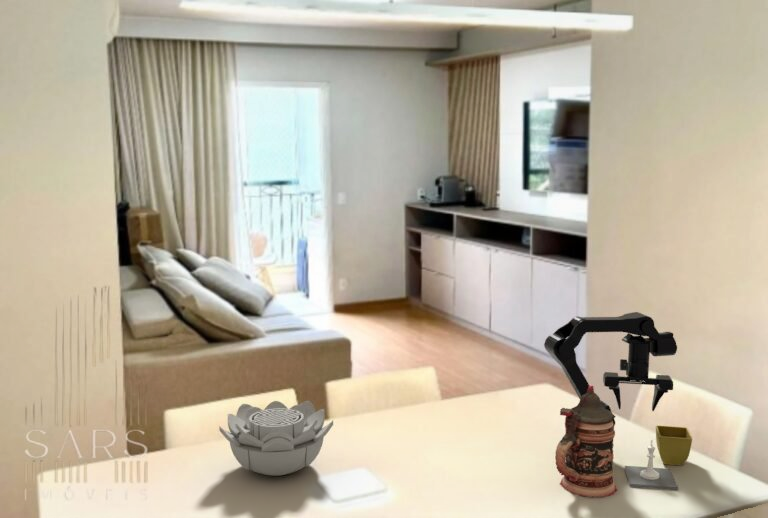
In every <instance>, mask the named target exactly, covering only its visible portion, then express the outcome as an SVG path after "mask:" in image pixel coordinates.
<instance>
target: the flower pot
mask: <svg viewBox="0 0 768 518" xmlns="http://www.w3.org/2000/svg"><path fill="white" fill-rule="evenodd" d="M655 440H656V441H655V443H656V447H657V450H658V453H659V456H660V459H661V462H662V464H663V465H670V466H683V465H685V463H686V462H687V460H688V458H689V456H690V453H691V452H690V451H691V449H692V443H693V436H692V434H691V432H690V430H689V428H688V427H684V426H671V425H670V426H669V425H655Z"/></svg>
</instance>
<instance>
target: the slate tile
mask: <svg viewBox="0 0 768 518" xmlns="http://www.w3.org/2000/svg"><path fill="white" fill-rule="evenodd" d="M646 468H647V466H637V465H635V466H634V465H624V472H625V475H626V478H627V483H628V487H630V488H645V489H657V490H670V491H671V490H673V491H678V490H679V487H678V484H677V482H676V480H675V477H674V474H673V472H672V470H671V468H663V467H653V469H654V470H655V471H656V472H658V473H659V478H658V479H654V480H651V479H646V478H643V477H642V476H641V475H640V473H641V471H642V470H646Z"/></svg>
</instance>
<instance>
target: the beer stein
mask: <svg viewBox="0 0 768 518" xmlns="http://www.w3.org/2000/svg"><path fill="white" fill-rule="evenodd" d="M594 386H595V385H589V388H588V390H587V393H586V394H584V395H582V396H581V399H579V402H578V404H577V405H576V406H575V405H574V406H573V407H572V408H565V407H562V408H561V409H560V411H559V415H560V416H564V417H565V418H564V419H565V420H564V427H565V434H564V435H563V436H562V438H561V440H559V441H558V443H557V445H556V449H555V452H554V453H555V458H554V459H555V465H556V469H557V472H559V474H560V476H563V477H562V478H561V481H560V482H559V485H560V486H561V487H562V488H563V489H564V490H566V491H567V492H570V493H572V494H574V495H578V496H582V497H584V498H585V497H587V498H593V499H594V498H602V497H609V496H612V495H614V494H615V493H616V492H617V491H618V488H617V487H616V484H615V482H614V474H615V470H614V467H613V466H614V464H613V463H614V444H615V443H614V438H615V436H616V430H615V425H614V426H613V419H614V420H615V417H614V416H615V415H614V413H613V412H612V411H611V412H610V411H609V410H607V409H605V408H604V407H603V406H602V404H601V401H602V400H601V398H600V396H599V395H598V394H597V393H595V387H594ZM600 400H601V401H600Z"/></svg>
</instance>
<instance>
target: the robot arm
mask: <svg viewBox="0 0 768 518" xmlns="http://www.w3.org/2000/svg"><path fill="white" fill-rule="evenodd" d="M587 333H627V334H626V335H625V336H624V337H622V338H621V341H622V342H625V343H626V344H628V356H627V359H623V358H622V359H620V360H619V371H624V372H625V374H626V376H620V375H619V373H618V372H610V371H609V372H608V371H605V372H604V373H603V375H602V383H603V385H604V387H607V388H608V389H609V390H611V391H613V394H614V396H615V399H616V403H617V406H618V407H617V408H618V410H621V407H622V406H621V405H622V404H621V403H622V401H621V389H620V388H621V387H620V386H619V385H620V384H628V385H631V384H632V385H649V386H653V387H654V388H653V389H654V391H653V397H652V401H651V411H652V412H655V409H656V408H657V406H658V404H659V401H660V400H661V399H662V397H663V395H665V394H666V393H669V391H673V390H674V381H673V379H672V377H671V376H670V375H666V374H664V375H663V374H656V375H655V378H654V377H653V378H652V377H649V370H650V368H649V367H650V354H651V355H652V356H653V357H671V356H675V355H676V353H677V352H678V351H677V350H678V345H677V341H676V339H675V338H674V333H673V332H672V331H663V332H659V331H658V330H657V328H656V327H655V321H654V319H653V318H652V317H651V316H649V315H647V314H643V313H641V312H638V311H633V312H628V313H624V314H622V315H620V316H598V317H597V316H591V317H590V316H587V317H586V316H584V317H583V316H582V317H581V316H574V317H572V318H571V320H570V321H569V322H567V323H566V324H564V325H562V326H560V327H558V328H557V329H556V331H554V332H553V333H552V334H550V335H548V336H547V337H546V338H545V341H544V343H543V345H544V348H545V350H546V352H547V353H548V354H549V355H550V356H551V358H553V360H554V361H555V362H556V363H557V364H559V366H560V367H561V369H562V371H563V373H564V374H565V375H566V378H567V379H568V381H569V383H570V384H571V387H572V388H573V389H574V391H575V393H576V395H577V397H578V398H579V400H580V399H581V396H582V395H584V394H586V393H587V390H588V388H589V386H590V384H589V382H588V381H587V379H586V377H585V375H584V373H583V372H582V370H581V368H580V366H579V364H578V362H577V353H576V351H575V349H576V348H577V346H579V345H580V343H581V341H582V339H583V338H584V335H586V334H587ZM600 401H601V404H602V406H603V407H604V408H605V409H607V410H609V411H610V412H612V409H611V407H610V405H609V404H607V403H606V402H604V401H603V400H601V399H600ZM615 418H616V415H614V419H613V426H614V427H615V426H616V421H615Z"/></svg>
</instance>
